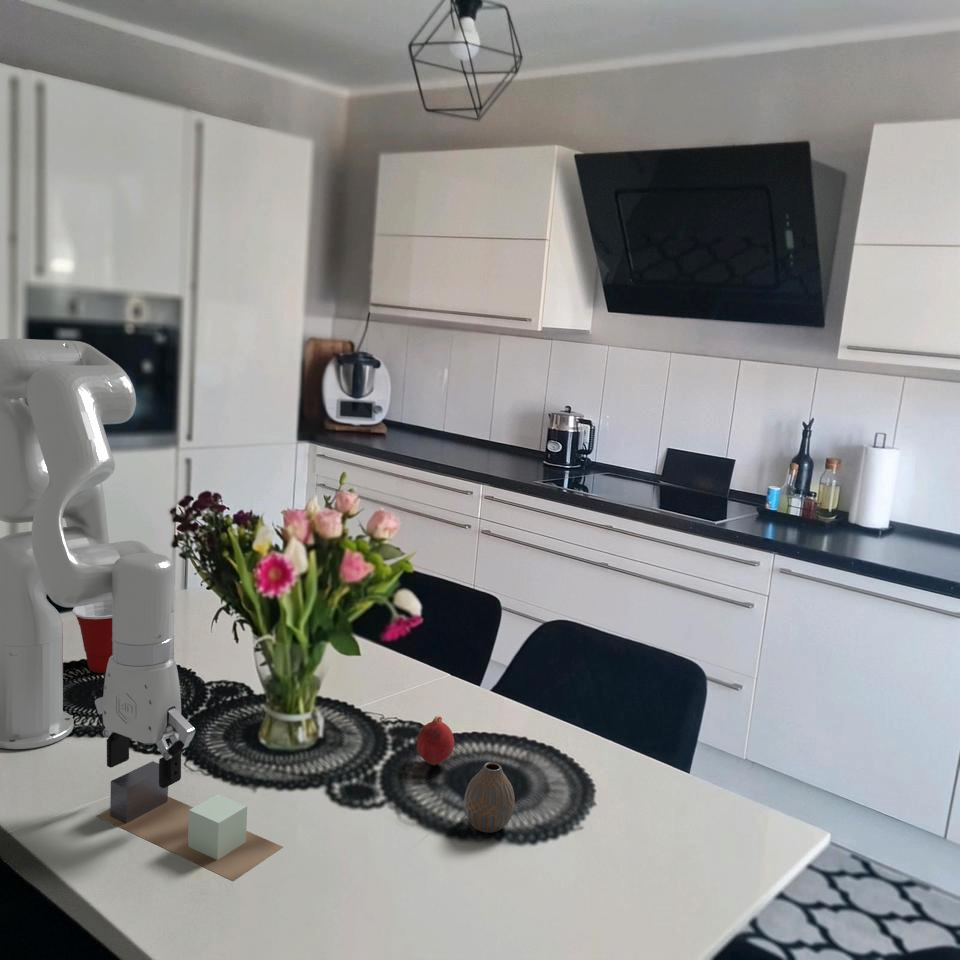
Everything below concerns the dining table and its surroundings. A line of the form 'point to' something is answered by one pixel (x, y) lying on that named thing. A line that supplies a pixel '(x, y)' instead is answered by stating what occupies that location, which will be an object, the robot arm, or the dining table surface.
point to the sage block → (217, 826)
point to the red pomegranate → (435, 741)
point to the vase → (489, 799)
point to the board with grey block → (174, 823)
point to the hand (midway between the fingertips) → (143, 773)
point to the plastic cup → (96, 633)
